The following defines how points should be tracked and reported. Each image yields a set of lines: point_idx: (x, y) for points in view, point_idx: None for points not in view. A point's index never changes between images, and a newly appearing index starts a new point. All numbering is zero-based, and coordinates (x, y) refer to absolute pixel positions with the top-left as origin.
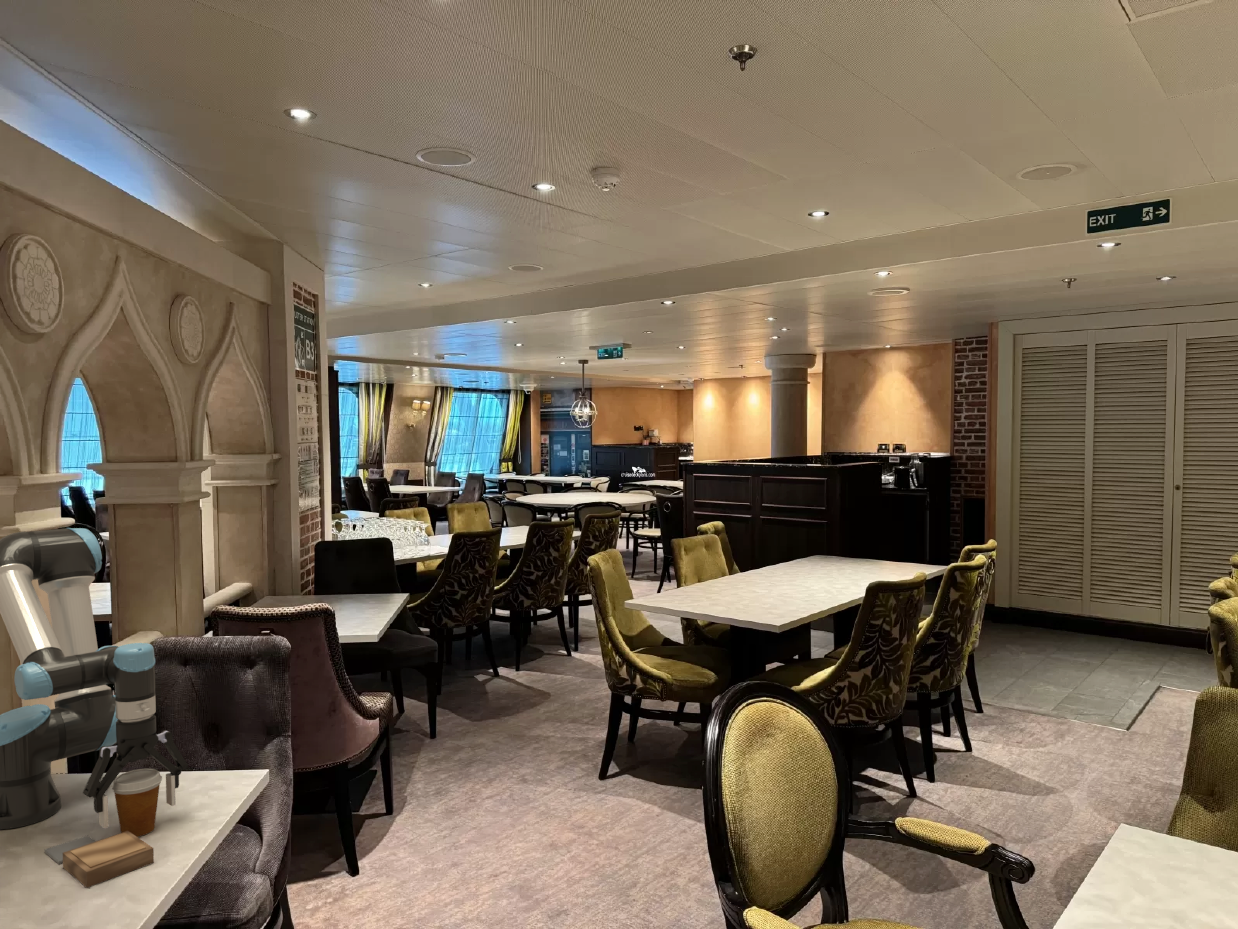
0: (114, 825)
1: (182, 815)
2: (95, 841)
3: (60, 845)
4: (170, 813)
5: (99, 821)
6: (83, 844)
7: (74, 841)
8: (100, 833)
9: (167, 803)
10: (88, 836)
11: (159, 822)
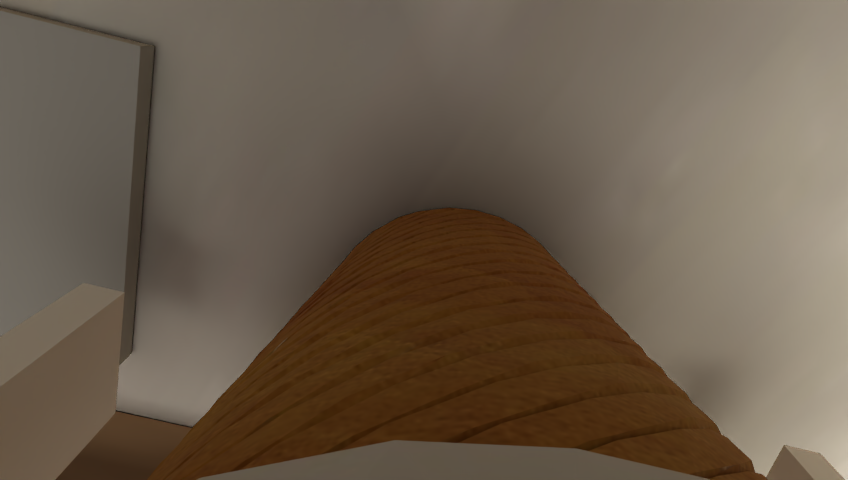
0: (441, 20)
1: (803, 394)
2: (122, 236)
3: None
4: (816, 277)
5: (56, 307)
6: (34, 195)
7: (4, 58)
8: (272, 61)
9: (772, 469)
10: (130, 83)
11: (636, 339)
